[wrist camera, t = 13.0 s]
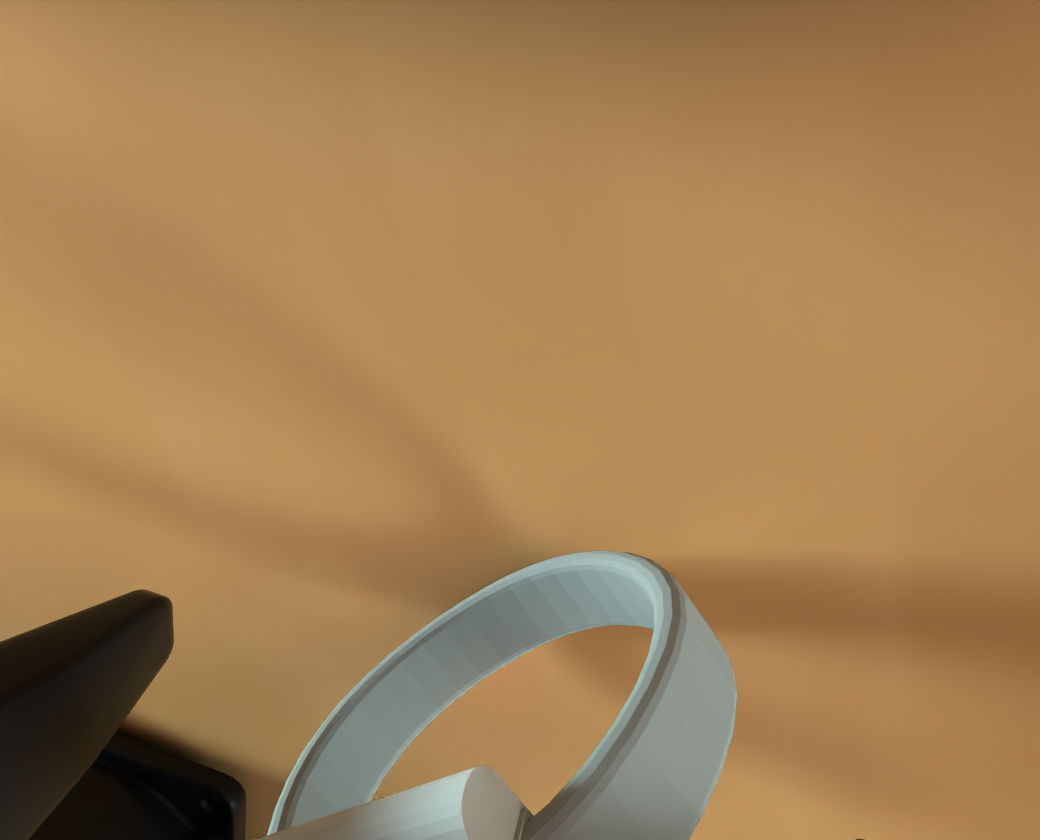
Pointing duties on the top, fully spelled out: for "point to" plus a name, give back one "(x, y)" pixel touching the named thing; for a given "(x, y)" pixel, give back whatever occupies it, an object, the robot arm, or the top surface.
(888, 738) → the top surface
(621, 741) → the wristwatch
